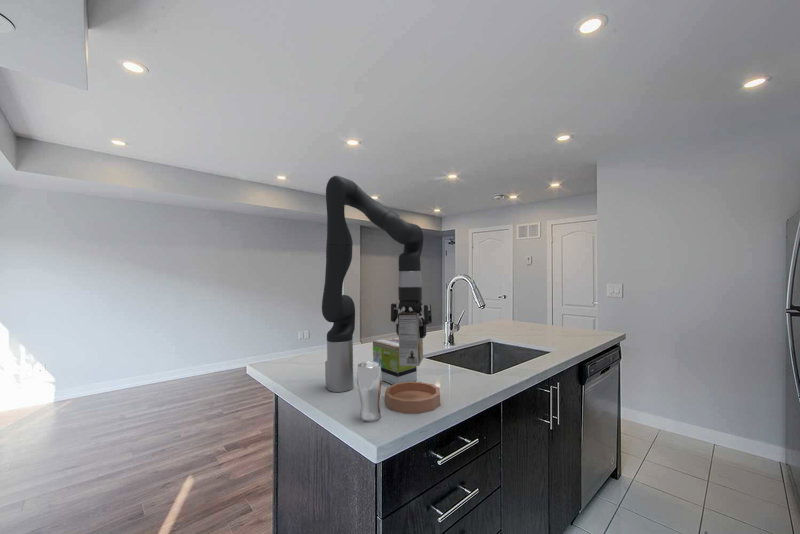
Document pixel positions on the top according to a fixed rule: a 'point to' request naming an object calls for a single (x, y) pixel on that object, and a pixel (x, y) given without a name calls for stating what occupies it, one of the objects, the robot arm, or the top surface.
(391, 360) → the tea box
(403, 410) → the terracotta dish
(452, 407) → the top surface
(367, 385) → the beer glass
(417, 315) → the coffee box
